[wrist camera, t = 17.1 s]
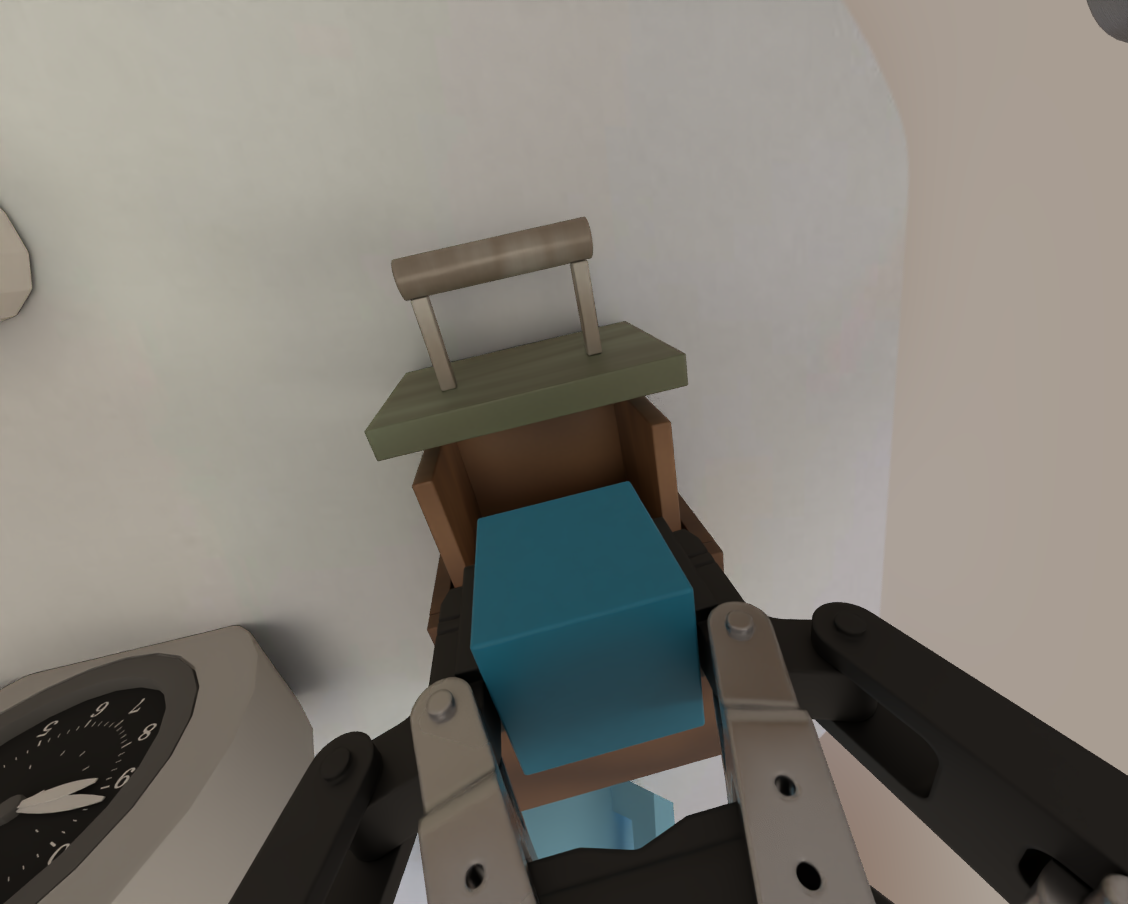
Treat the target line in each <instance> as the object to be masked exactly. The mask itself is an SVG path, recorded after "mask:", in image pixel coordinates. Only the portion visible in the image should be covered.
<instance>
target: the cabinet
mask: <svg viewBox="0 0 1128 904" xmlns="http://www.w3.org/2000/svg"><path fill="white" fill-rule="evenodd" d="M678 500H679V510H680V520H681V529H686V530H687V531H689V532H691V533H692V534H694V535H695V536H697V537H699V539H700V540H701V541H702V543H703V544H704V546H705V547H706V548H707V550H708V552H709V553H710V554H711V555H712V557H713V558H714V560H715V562H717V564H718V565H719V567H720V568H721V569H722V571H723V572H724V565H723V551H722V550H721V549H720V547H719V546H718V545H717V543H716V542H715V541H714V539H713V538H712V536H711V535H710V534H709V533H708V531H707V530H706V529H705V527H704V526H703V525H702V523H701V522H700V521H699V519H698V518H697V517H696V515H695V514H694V513H693V511H692V510H691V509H690V507H689V506H688V505H687V504H686V502H685V501H684V500H683V498H682V497H681V496H680V494H679V493H678ZM453 588H454V585H453V583H452V581H451V578H450V576H449V574H448V571H447V569H446V566H445V564H444V562H443V559H442V557H441V554H440V558H439V563H438V569H437V575H436V580H435V586H434V592H433V597H432V603H431V609H430V614H429V615H430V617H429V622H428V627H427V631H428V633H429V635H430V637H431V639H432V641H433V643H434V645H435V641H436V636H437V627H438V623H439V613H440V606H441V603H442V602H443V600H444V598H445V597H446V595H447V593H448V592H449V590H450V589H453ZM701 684H702V695H703V706H704V718H705V724H704V725H703V726H700V727H697V728H693V729H690V730H686V731H683V732H679V733H676V734H672V735H669V736H665V737H661V738H658V739H654V740H651V741H647V742H644V743H640V744H637V745H633V746H630V747H626V748H623V749H619V750H615V751H612V752H608V753H605V754H601V755H598V756H594V757H591V758H587V759H584V760H580V761H577V762H573V763H569V764H566V765H562V766H559V767H555V768H552V769H548V770H545V771H541V772H538V773H534V774H531V775H525V774H524V772H523V770H522V768H521V766H520V763H519V761H518V759H517V756H516V754H515V752H514V749H513V747H512V745H511V742H510V740H509V738H508V735H507V733H506V731H504V732H501V755H502V757H503V759H504V762H505V765H506V768H507V771H508V774H509V777H510V780H511V783H512V786H513V789H514V792H515V795H516V798H517V801H518V804H519V807H520V810H521V811H525V810H528V809H532V808H535V807H539V806H542V805H546V804H549V803H553V802H556V801H560V800H563V799H567V798H571V797H574V796H578V795H581V794H585V793H588V792H592V791H595V790H599V789H602V788H606V787H609V786H613V785H616V784H620V783H623V782H627V781H630V780H634V779H637V778H641V777H644V776H648V775H651V774H655V773H658V772H662V771H665V770H669V769H672V768H676V767H679V766H683V765H686V764H690V763H693V762H697V761H700V760H704V759H707V758H711V757H714V756H718V755H721V749H720V743H719V736H718V730H717V723H716V717H715V710H714V704H713V693H712V688H711V686H710V684H709V682H708V680H707V678H706V676H705V677H701Z"/></svg>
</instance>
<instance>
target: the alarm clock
mask: <svg viewBox="0 0 1128 904" xmlns="http://www.w3.org/2000/svg"><path fill="white" fill-rule="evenodd" d="M313 759H314V745H313V728H312V726H311V724H310V722H309V720H308V718H307V716H306V714H305V712H304V710H303V708H302V706H301V704H300V702H299V701H298V700H297V698H296V697H295V695H294V694H293V692H292V691H291V690H290V688H289V687H288V685H287V684H286V682H285V681H284V680H283V678H282V677H281V675H280V674H279V673H278V671H277V670H276V668H275V667H274V665H273V664H272V663H271V661H270V660H269V658H268V657H267V656H266V654H265V653H264V651H263V650H262V648H261V647H260V646H259V644H258V643H257V641H256V640H255V639H254V637H253V636H252V634H251V633H250V632H249V631H247V630H246V629H244V628H242V627H241V626H238V625H237V626H231V627H227V628H222V629H218V630H214V631H210V632H206V633H202V634H197V635H193V636H189V637H185V638H181V639H177V640H172V641H168V642H164V643H160V644H156V645H152V646H147V647H143V648H139V649H135V650H131V651H127V652H122V653H118V654H114V655H110V656H106V657H102V658H97V659H93V660H89V661H85V662H81V663H77V664H72V665H68V666H64V667H60V668H56V669H52V670H47V671H43V672H39V673H35V674H31V675H28V676H26V677H24V678H22V679H20V680H18V681H16V682H14V683H12V684H10V685H8V686H6V687H5V688H3V689H1V690H0V904H228V903H229V901H230V900H231V898H232V896H233V895H234V893H235V891H236V890H237V888H238V886H239V884H240V883H241V881H242V879H243V878H244V876H245V874H246V872H247V871H248V869H249V867H250V866H251V864H252V862H253V861H254V859H255V857H256V855H257V854H258V852H259V850H260V849H261V847H262V845H263V844H264V842H265V840H266V838H267V837H268V835H269V833H270V832H271V830H272V828H273V826H274V825H275V823H276V821H277V820H278V818H279V816H280V815H281V813H282V811H283V809H284V808H285V806H286V804H287V803H288V801H289V799H290V797H291V796H292V794H293V792H294V791H295V789H296V787H297V786H298V784H299V782H300V780H301V779H302V777H303V775H304V774H305V772H306V770H307V769H308V767H309V765H310V764H311V762H312V761H313Z"/></svg>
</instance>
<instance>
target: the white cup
mask: <svg viewBox="0 0 1128 904" xmlns="http://www.w3.org/2000/svg"><path fill="white" fill-rule="evenodd" d="M31 290H32V280H31V270H30V260H29V253H28V251H27V249H26V247H25V246H24V244H23V242H22V240H21V239H20V237H19V235H18V233H17V232H16V230H15V228H14V227H13V225H12V223H11V222H10V220H9V218H8V216H7V215H6V213H5V212H4V211H3V210H2V209H1V208H0V322H1V321H3V320H6V319H8V318H11V317H14V316H16V315H17V314H18V312H19V310H20V309H21V307H22V305H23V304H24V302H25V300H26V299H27V297H28V295H29V294H30V292H31Z"/></svg>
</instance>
